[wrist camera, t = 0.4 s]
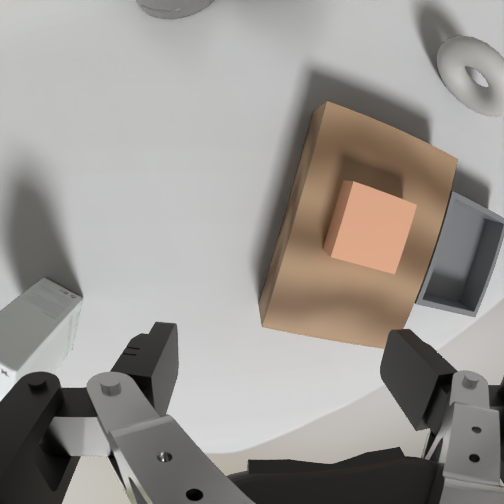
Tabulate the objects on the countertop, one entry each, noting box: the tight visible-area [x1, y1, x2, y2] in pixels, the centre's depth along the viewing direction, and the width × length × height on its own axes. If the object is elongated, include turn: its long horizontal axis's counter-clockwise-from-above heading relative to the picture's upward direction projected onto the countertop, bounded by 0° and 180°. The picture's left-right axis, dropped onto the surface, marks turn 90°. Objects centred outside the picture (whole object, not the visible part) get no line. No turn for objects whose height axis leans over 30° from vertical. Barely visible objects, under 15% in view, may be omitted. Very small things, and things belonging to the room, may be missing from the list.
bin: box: [414, 191, 504, 317], centre depth 31 cm, size 12×10×4 cm
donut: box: [436, 36, 504, 117], centre depth 23 cm, size 10×4×10 cm, turn 48°
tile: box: [322, 180, 417, 274], centre depth 25 cm, size 6×6×2 cm
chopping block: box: [259, 101, 458, 349], centre depth 29 cm, size 20×14×5 cm
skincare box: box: [0, 278, 83, 401], centre depth 25 cm, size 8×6×15 cm
